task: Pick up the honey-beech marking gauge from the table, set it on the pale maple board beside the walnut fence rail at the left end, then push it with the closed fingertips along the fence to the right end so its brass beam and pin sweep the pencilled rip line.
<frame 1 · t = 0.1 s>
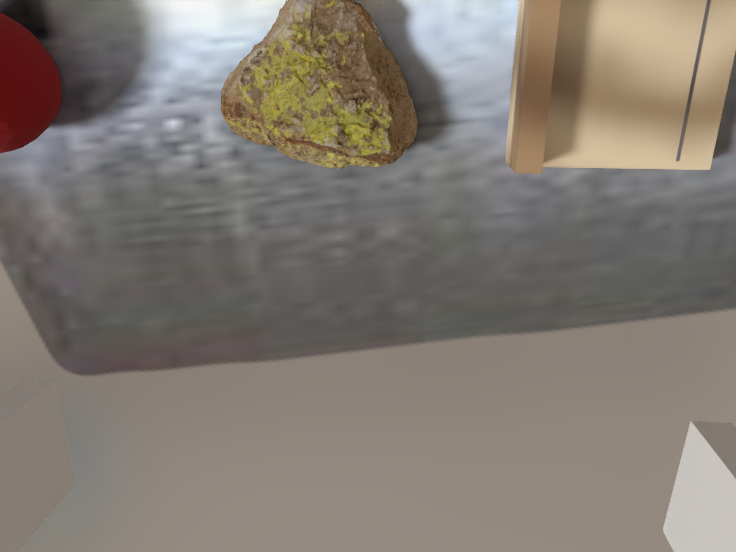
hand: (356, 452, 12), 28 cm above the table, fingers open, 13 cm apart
rock: (324, 81, 36), on the table
apple: (23, 79, 38), on the table
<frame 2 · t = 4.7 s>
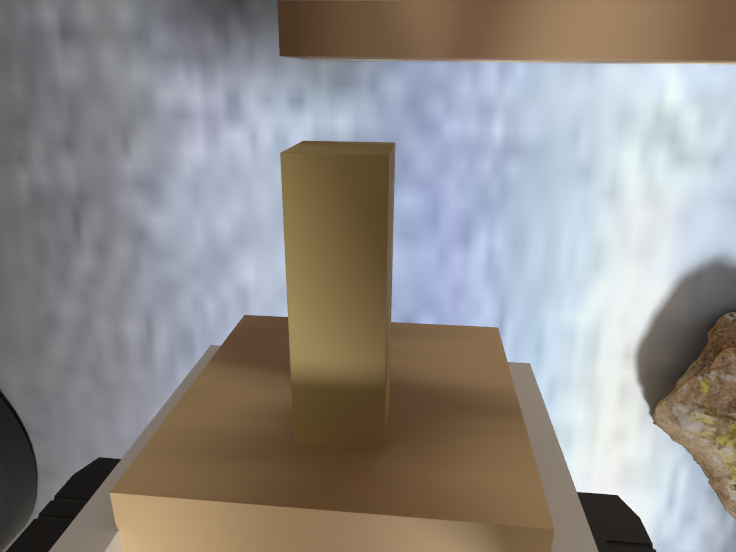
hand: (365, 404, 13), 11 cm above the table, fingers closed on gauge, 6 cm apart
gauge: (367, 394, 14), point 10 cm above the table, touching gripper
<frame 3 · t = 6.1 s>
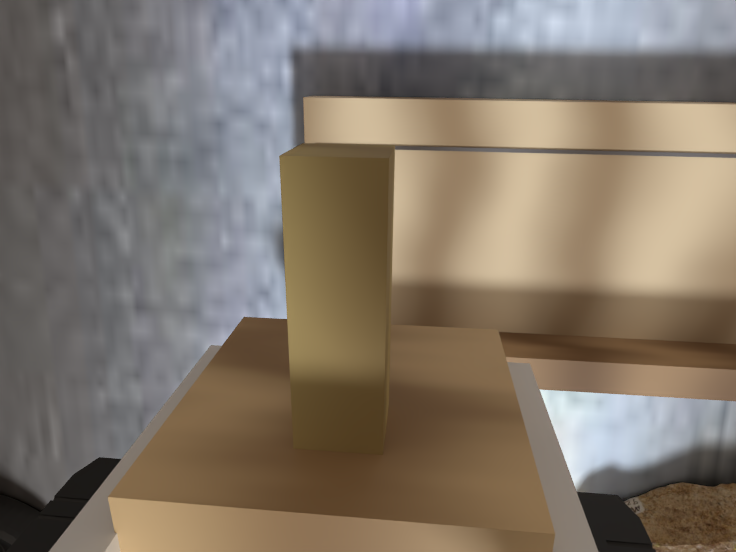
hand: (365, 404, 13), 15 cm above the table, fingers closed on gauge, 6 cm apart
gauge: (367, 396, 14), point 14 cm above the table, touching gripper
rock: (655, 544, 33), on the table
board: (562, 231, 26), on the table
when the fingers open (4 cm above the table, at t = 8.1 s): gauge drops 1 cm, resting on board.
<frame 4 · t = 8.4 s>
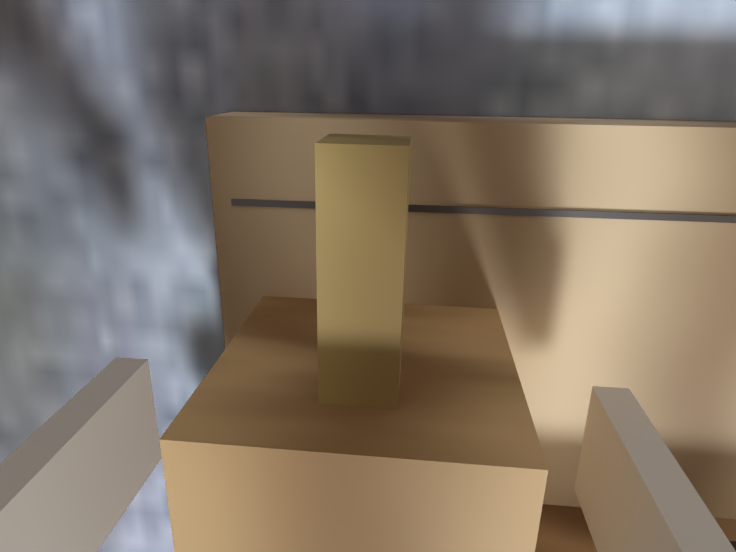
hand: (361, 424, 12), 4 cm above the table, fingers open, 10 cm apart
gauge: (376, 370, 15), point 2 cm above the table, touching board
board: (655, 337, 16), on the table
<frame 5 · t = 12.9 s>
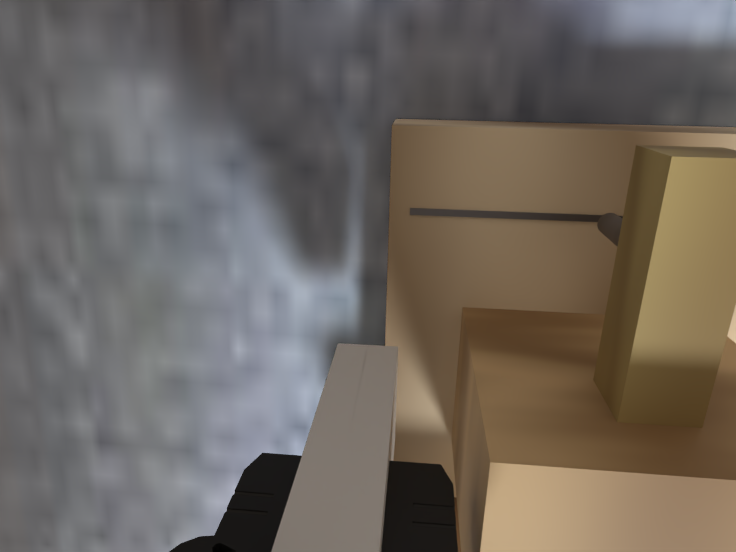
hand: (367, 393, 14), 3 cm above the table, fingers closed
gauge: (571, 382, 14), point 2 cm above the table, touching board, gripper
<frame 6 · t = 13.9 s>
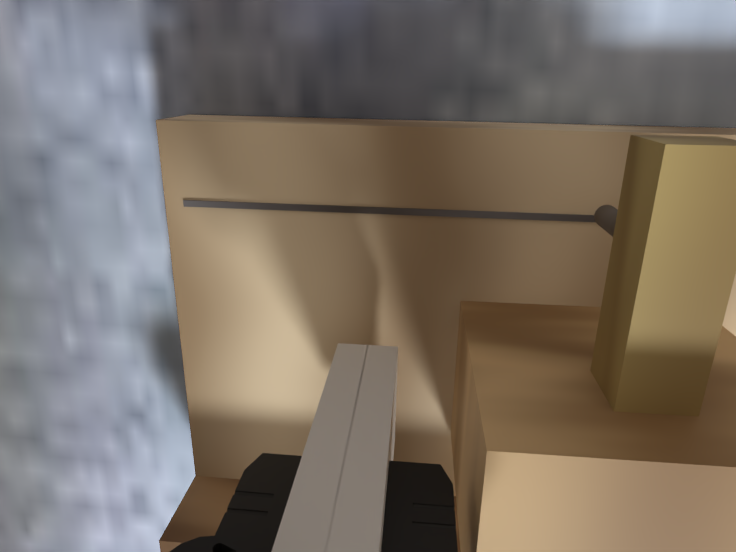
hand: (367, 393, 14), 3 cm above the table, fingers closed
gauge: (569, 375, 14), point 2 cm above the table, touching gripper
board: (603, 336, 16), on the table
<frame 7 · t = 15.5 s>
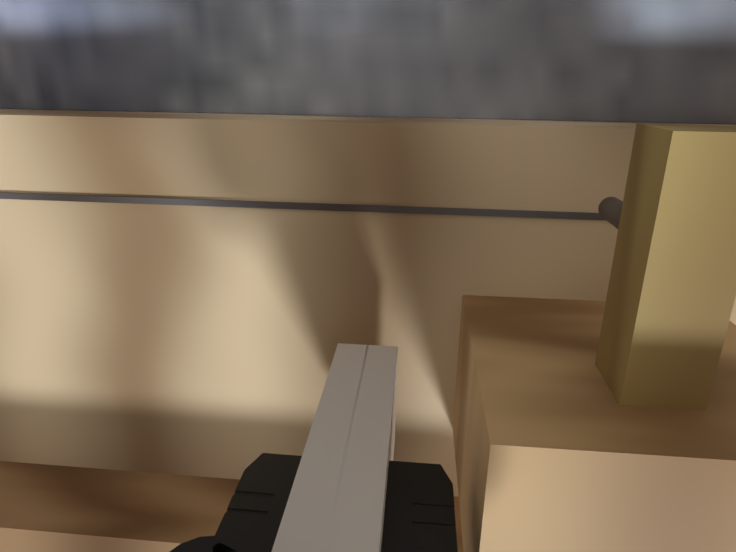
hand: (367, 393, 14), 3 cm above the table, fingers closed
gauge: (573, 370, 14), point 2 cm above the table, touching board, gripper
board: (356, 322, 17), on the table
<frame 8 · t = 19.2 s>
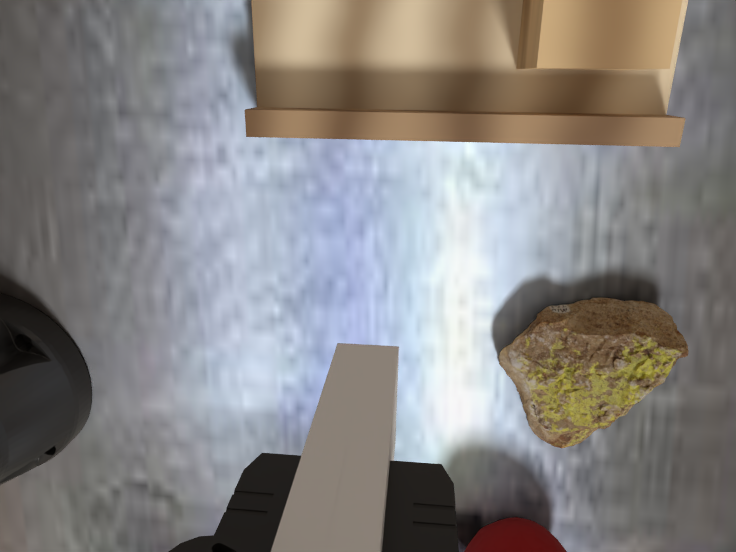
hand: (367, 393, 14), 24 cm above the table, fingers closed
gauge: (575, 31, 30), point 2 cm above the table, touching board
rock: (570, 356, 40), on the table
board: (458, 30, 33), on the table
apple: (510, 539, 46), on the table
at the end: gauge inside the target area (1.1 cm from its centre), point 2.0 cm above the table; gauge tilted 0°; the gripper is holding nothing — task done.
